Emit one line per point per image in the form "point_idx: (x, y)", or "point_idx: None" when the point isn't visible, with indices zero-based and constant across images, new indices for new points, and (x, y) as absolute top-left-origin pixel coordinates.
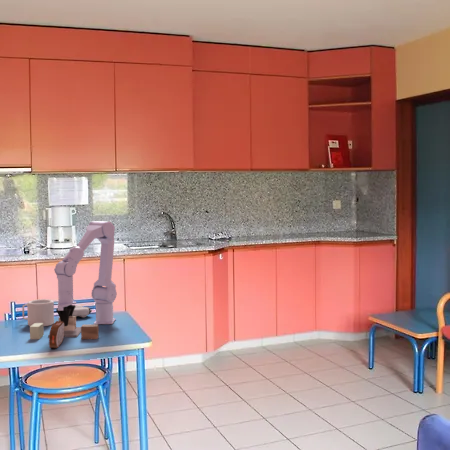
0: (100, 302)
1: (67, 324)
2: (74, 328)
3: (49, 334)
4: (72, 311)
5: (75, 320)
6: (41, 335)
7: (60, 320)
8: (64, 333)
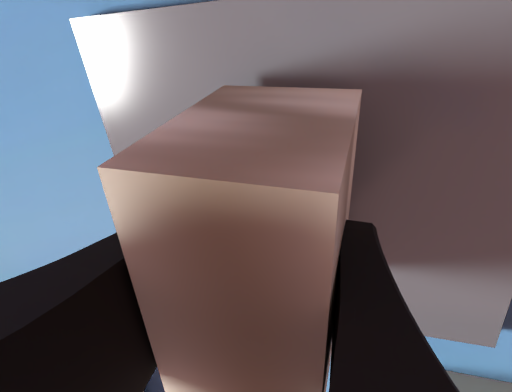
0: None
1: (373, 232)
2: (309, 93)
3: (449, 337)
4: (18, 329)
5: (192, 132)
6: (460, 389)
7: (326, 378)
8: (427, 196)
